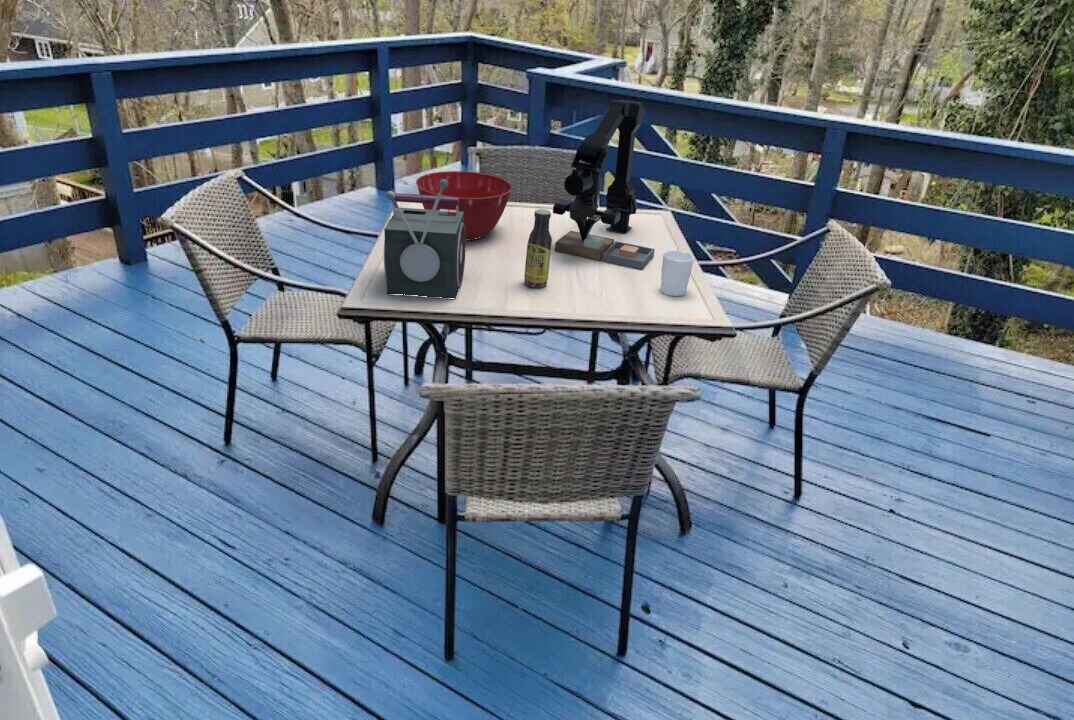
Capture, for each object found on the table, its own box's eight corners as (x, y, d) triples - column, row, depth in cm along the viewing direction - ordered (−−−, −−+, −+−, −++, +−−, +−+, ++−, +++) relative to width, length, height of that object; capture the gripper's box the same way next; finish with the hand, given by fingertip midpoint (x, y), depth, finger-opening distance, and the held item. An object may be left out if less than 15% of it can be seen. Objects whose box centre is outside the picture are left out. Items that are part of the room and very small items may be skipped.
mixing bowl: (496, 216, 245) (497, 169, 237) (522, 246, 221) (524, 195, 214) (409, 220, 236) (408, 171, 229) (426, 252, 213) (426, 199, 205)
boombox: (465, 271, 202) (467, 160, 188) (456, 303, 184) (457, 182, 169) (398, 267, 202) (395, 155, 188) (382, 298, 184) (377, 177, 169)
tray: (614, 249, 224) (615, 241, 223) (653, 257, 220) (654, 248, 219) (601, 261, 214) (602, 253, 213) (642, 270, 211) (643, 261, 209)
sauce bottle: (519, 285, 196) (523, 211, 186) (531, 277, 201) (535, 205, 191) (541, 291, 193) (546, 216, 184) (552, 283, 198) (558, 210, 189)
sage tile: (589, 241, 220) (589, 235, 219) (603, 244, 218) (604, 238, 217) (583, 246, 216) (584, 239, 215) (598, 249, 214) (599, 242, 214)
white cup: (670, 283, 204) (675, 248, 199) (694, 292, 199) (700, 256, 194) (652, 290, 199) (657, 254, 194) (676, 299, 194) (682, 263, 189)
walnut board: (569, 239, 229) (570, 230, 227) (613, 248, 224) (614, 239, 223) (554, 251, 219) (555, 242, 218) (600, 261, 215) (601, 251, 213)
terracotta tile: (639, 247, 219) (638, 254, 220) (624, 244, 220) (623, 251, 221) (634, 252, 215) (633, 258, 216) (619, 249, 217) (618, 255, 218)
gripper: (546, 188, 207) (543, 242, 214) (610, 200, 201) (604, 255, 208) (562, 179, 216) (558, 231, 223) (624, 190, 210) (617, 243, 217)
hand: (583, 240), depth 218 cm, fingers closed
